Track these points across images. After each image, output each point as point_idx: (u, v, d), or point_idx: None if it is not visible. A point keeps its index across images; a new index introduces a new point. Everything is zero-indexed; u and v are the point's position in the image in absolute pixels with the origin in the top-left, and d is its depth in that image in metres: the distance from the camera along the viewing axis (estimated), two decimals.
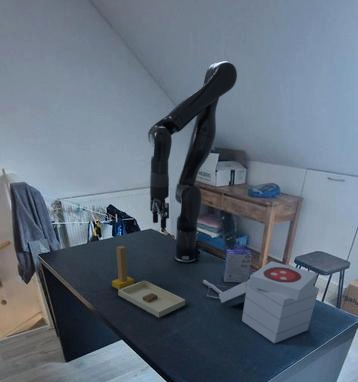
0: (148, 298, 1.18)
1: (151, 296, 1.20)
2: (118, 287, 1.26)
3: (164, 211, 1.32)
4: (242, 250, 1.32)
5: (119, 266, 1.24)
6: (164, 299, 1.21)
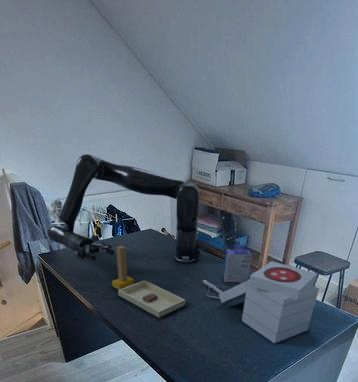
0: (148, 298, 1.18)
1: (151, 296, 1.20)
2: (118, 287, 1.26)
3: (78, 256, 1.31)
4: (242, 250, 1.32)
5: (119, 266, 1.24)
6: (164, 299, 1.21)
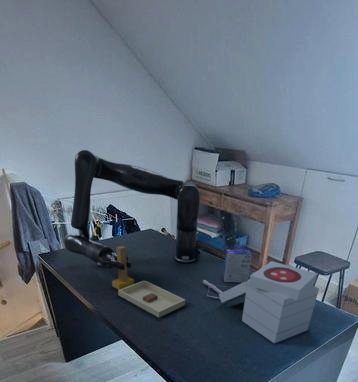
0: (148, 298, 1.18)
1: (151, 296, 1.20)
2: (118, 287, 1.26)
3: (104, 266, 1.24)
4: (242, 250, 1.32)
5: None
6: (164, 299, 1.21)
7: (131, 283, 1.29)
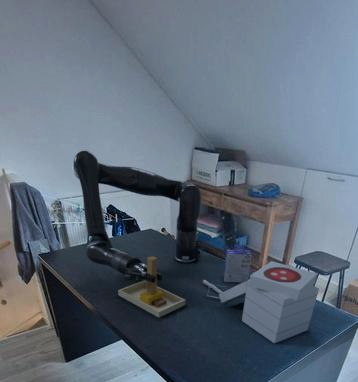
0: (157, 303, 1.16)
1: (160, 301, 1.17)
2: (147, 301, 1.16)
3: (132, 278, 1.14)
4: (242, 250, 1.32)
5: None
6: None
7: (160, 296, 1.19)
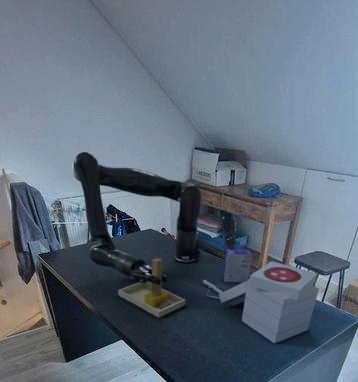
0: (162, 306, 1.14)
1: (165, 304, 1.15)
2: (151, 303, 1.15)
3: (137, 281, 1.13)
4: (242, 250, 1.32)
5: None
6: None
7: (165, 298, 1.18)
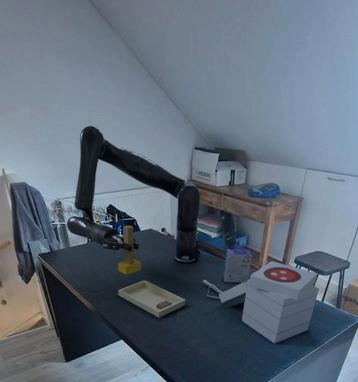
0: (162, 306, 1.14)
1: (165, 304, 1.15)
2: (124, 270, 1.19)
3: (110, 248, 1.17)
4: (242, 250, 1.32)
5: None
6: (164, 299, 1.21)
7: (138, 266, 1.22)
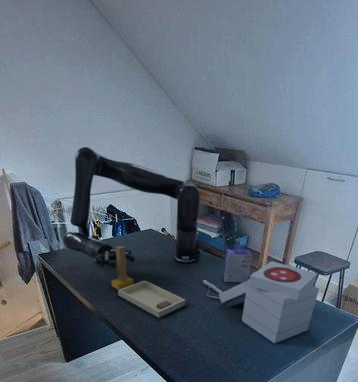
0: (162, 306, 1.14)
1: (165, 304, 1.15)
2: (117, 287, 1.26)
3: (97, 263, 1.24)
4: (242, 250, 1.32)
5: (118, 266, 1.24)
6: (164, 299, 1.21)
7: (130, 283, 1.29)
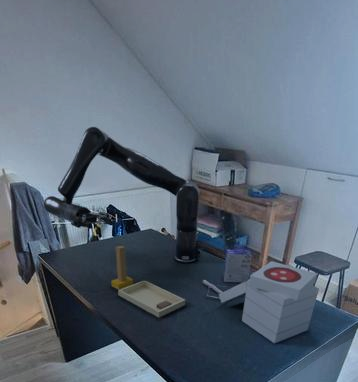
0: (162, 306, 1.14)
1: (165, 304, 1.15)
2: (117, 287, 1.26)
3: (74, 224, 1.25)
4: (242, 250, 1.32)
5: (118, 266, 1.24)
6: (164, 299, 1.21)
7: (130, 283, 1.29)
